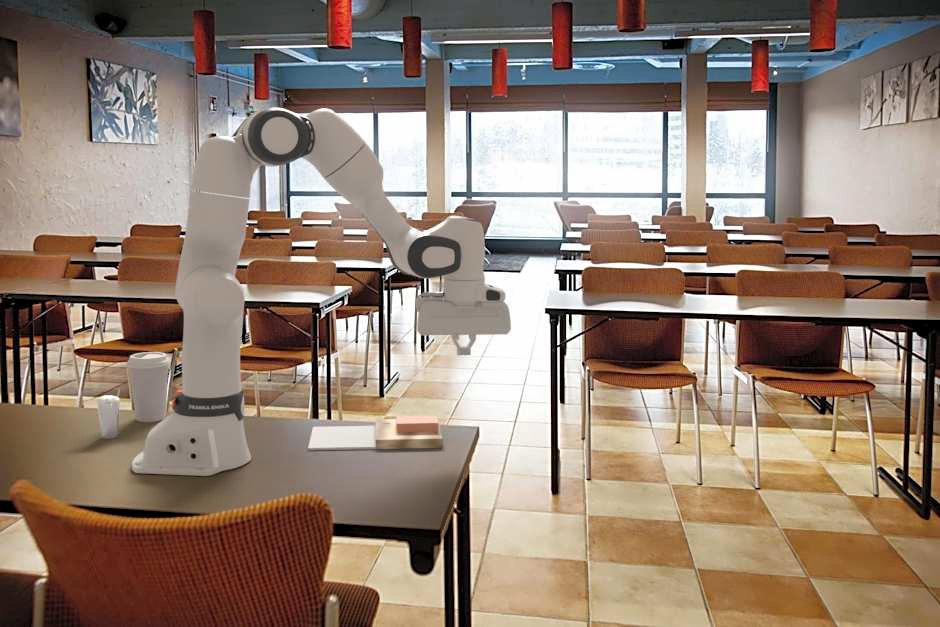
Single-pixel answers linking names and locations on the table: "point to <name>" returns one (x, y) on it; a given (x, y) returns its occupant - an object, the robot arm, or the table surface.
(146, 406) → the coffee cup
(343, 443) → the mat
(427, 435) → the riser
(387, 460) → the table surface
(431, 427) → the pink rectangular block
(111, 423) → the milkshake
